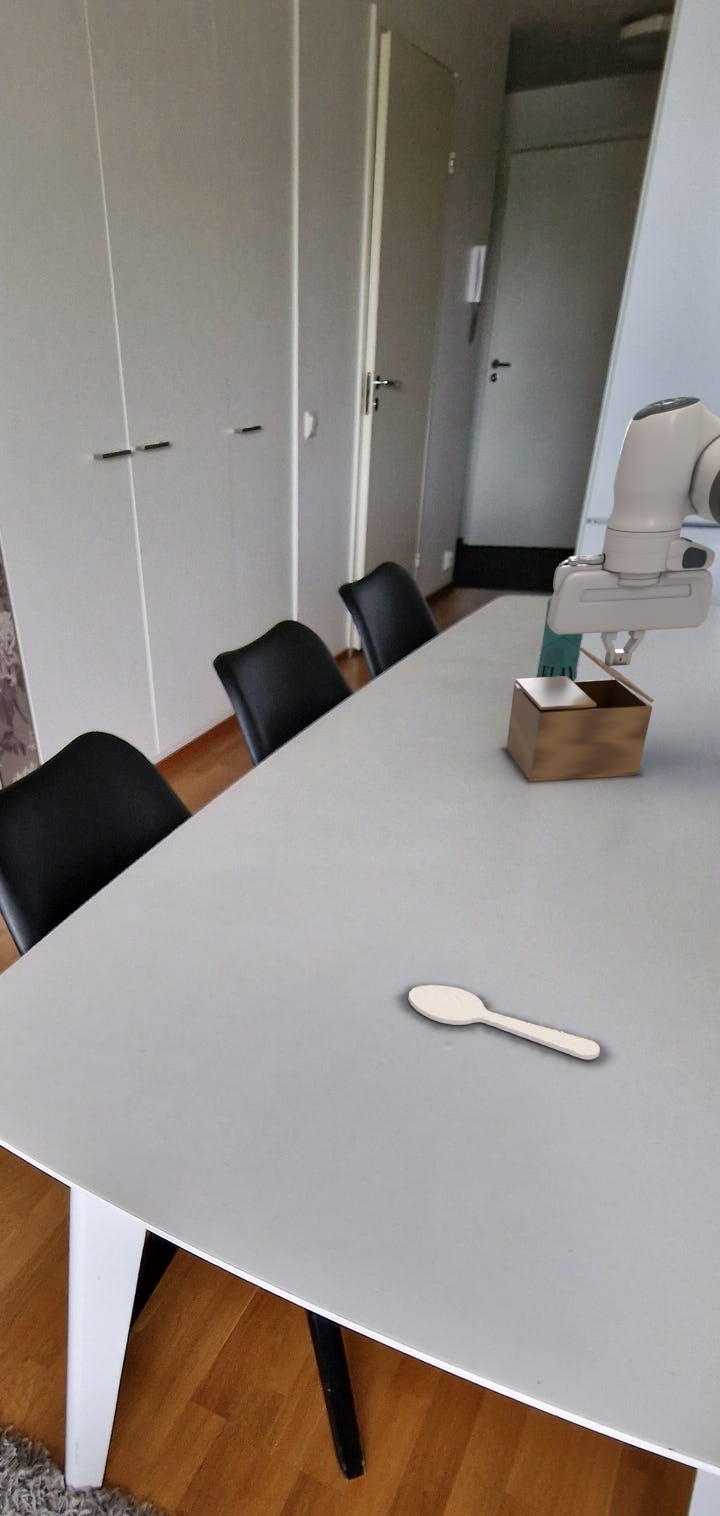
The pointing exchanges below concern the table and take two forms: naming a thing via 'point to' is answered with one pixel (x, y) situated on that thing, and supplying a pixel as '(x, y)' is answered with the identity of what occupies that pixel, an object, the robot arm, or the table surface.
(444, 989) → the spoon
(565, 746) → the carton
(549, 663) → the beverage bottle
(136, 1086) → the table surface
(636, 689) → the flap
